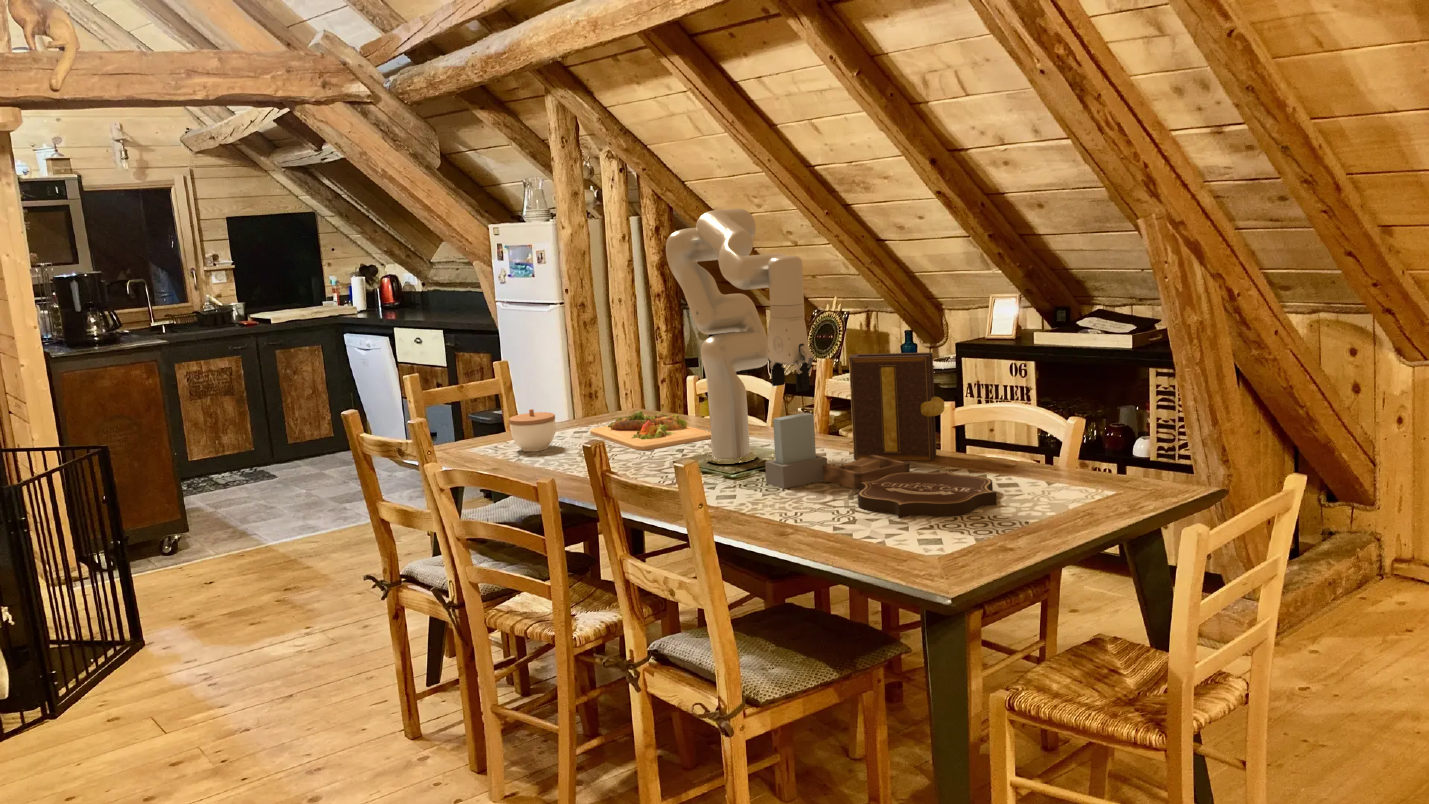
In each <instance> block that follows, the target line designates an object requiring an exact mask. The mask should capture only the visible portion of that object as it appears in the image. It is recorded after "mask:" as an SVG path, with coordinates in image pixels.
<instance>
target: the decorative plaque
mask: <svg viewBox="0 0 1429 804" xmlns="http://www.w3.org/2000/svg"><path fill="white" fill-rule="evenodd" d="M997 500H998V499H997V491H993V480H992V479H991V478H988V477H985V476H979V475H968V474H959V473H958V474H957V473H953V472H951V470H948V471H942V472H917V471H916V472H915V471H914V472H913V471H910V472H901V473H893V474H889V475H886V476H884V477H882V478H880V479H877V480H874V481H869V482H859V490H858V492H857V505H858V508H859V509H861V510H863V511H866V510H867V512H872V513H873V512H874V513H880V514H881V513H882V514H883V513H884V514H890V515H893V516H894V515H895V516H897V517H898V519H901V518H907V517H908V518H909V517H931V518H932V517H933V518H953V517H961V516H965V515H969V514H970V513H972V512H974V511H975V510H977V509H979V508H982V507H987V506H997V505H998V503H997Z"/></svg>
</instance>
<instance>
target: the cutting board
mask: <svg viewBox="0 0 1429 804" xmlns="http://www.w3.org/2000/svg"><path fill="white" fill-rule="evenodd" d="M589 431H590V432H589V433H590V435H591V436H594V437H598V438H600V439H603V440H605V441H609V442H612V443H613V444H618V445H620V446H624V447H626V448H629V449H632V450H634V451H648V450H654V449H661V448H666V447H670V446H671V447H672V446H677V445H683V444H687V443H693V442H697V441H705V440H709V439H710V440H711V431H707V430H704V429H700V428H697V427H694V426H693V427H692V426H690V425H688V422H687V421H686V420H684V419H681V417H680V415H679V414H677V413H674V414H672V415H668V414H666V413H665V414H664V413H663V412H657V413H656V414H655V415H653V416H651V415H647V414H643V410H638V411H635V412H633V413H632V414H631V415H627V416H624V417H622V416H619V417H618V418H617V419H615V421H611V422H610V424H609V423H608V425H606V426H600V427H599V426H598V427H594V428H591V429H590V430H589Z"/></svg>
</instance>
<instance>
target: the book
mask: <svg viewBox="0 0 1429 804" xmlns="http://www.w3.org/2000/svg"><path fill="white" fill-rule="evenodd" d="M933 358H934V356H933V352H893V353H891V352H889V353H888V352H887V353H858V354H857V353H855V354H852V355H850V356H848V366H849V370H848V371H849V387H850V389H849V390H850V405H851V406H850V407H851V408H850V409H851V426H852V427H851V428H852V429H851V430H852V449H853V450H852V451H853V460H854V461H856V460H858V459H861V458H867V459H870V457H869V455H877V456H881V457H885V458H890V459H894V460H898V461H902V462H906V461H907V462H909V461H910V462H912V461H913V462H932V461H934V457H937V444H936V443H937V439H936V438H937V437H936V418H935V417H937V416H939V415H941V414H943V413H944V411H945V401H944V399H942V398H941V397H939V396H935V387H934V386H935V385H934V384H935V383H934V379H935V378H934V362H933V361H934V359H933Z"/></svg>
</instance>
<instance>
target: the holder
mask: <svg viewBox="0 0 1429 804" xmlns="http://www.w3.org/2000/svg"><path fill="white" fill-rule="evenodd" d="M764 463H765V466H764V467H765V468H764V469H765V480H766V484H768V485H771V486H774V487H777V488H781V489H789V488H790V489H791V488H794V487H799V486H803V485H804V486H805V485H807V484H812V483H813V484H814V483H817V482H821V481H825V480H824V476H823V465H826V464H828V458H827V457H825V456H822V455H818V454H816V458H814V459H809V460H804V461H799V462H794V463H789V464H784V465H781V464H777V463H776V461H775V459H773V460H767V461H765V462H764Z"/></svg>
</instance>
